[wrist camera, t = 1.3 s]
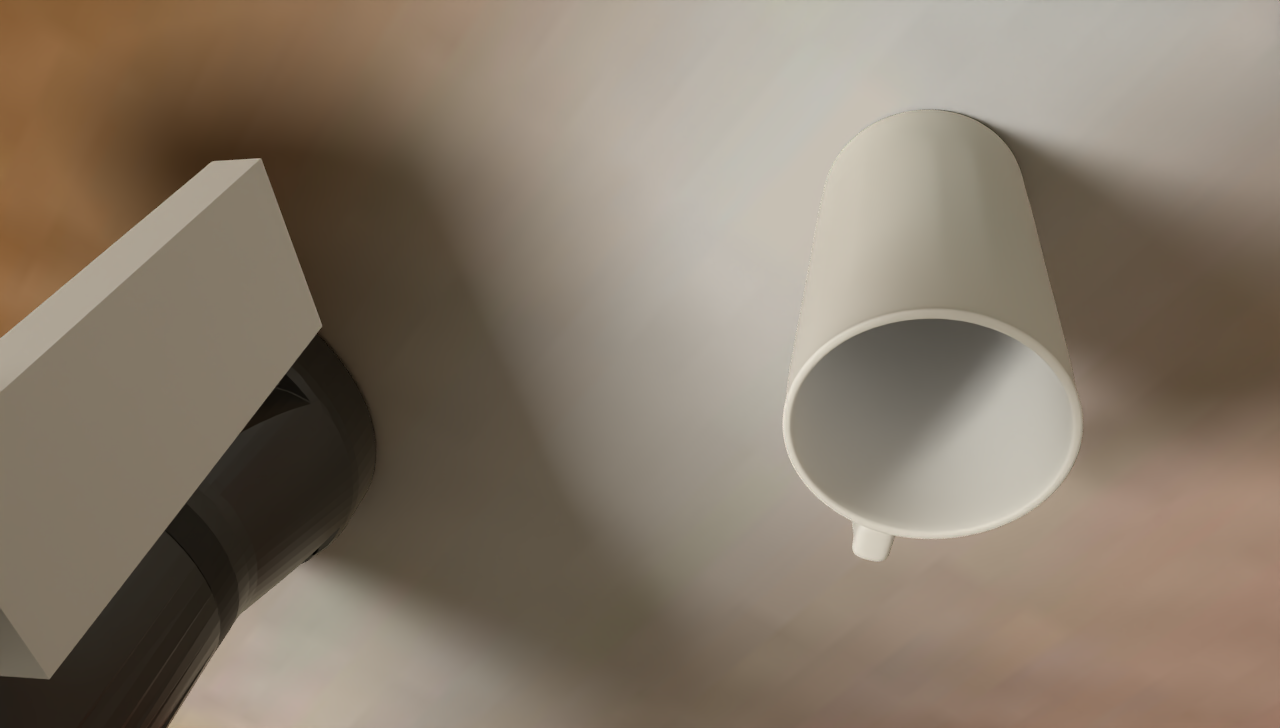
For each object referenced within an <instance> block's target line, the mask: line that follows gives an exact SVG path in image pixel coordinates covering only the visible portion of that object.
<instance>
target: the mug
mask: <svg viewBox="0 0 1280 728" xmlns="http://www.w3.org/2000/svg"><path fill="white" fill-rule="evenodd" d="M1082 435H1083V412H1082V406H1081V401H1080V398H1079V395H1078V392H1077V389H1076V386H1075V380H1074V374H1073V369H1072V365H1071V361H1070V357H1069V353H1068V349H1067V345H1066V341H1065V338H1064V334H1063V330H1062V326H1061V322H1060V319H1059V315H1058V311H1057V307H1056V303H1055V299H1054V296H1053V292H1052V288H1051V284H1050V280H1049V276H1048V273H1047V269H1046V265H1045V261H1044V257H1043V253H1042V249H1041V245H1040V241H1039V237H1038V233H1037V229H1036V225H1035V221H1034V217H1033V213H1032V210H1031V206H1030V203H1029V200H1028V196H1027V192H1026V188H1025V185H1024V181H1023V177H1022V173H1021V170H1020V168H1019V165H1018V163H1017V161H1016V159H1015V157H1014V155H1013V153H1012V152H1011V150H1010V149H1009V147H1008V146H1007V145H1006V144H1005V142H1004V141H1003V140H1002V139H1001V138H1000V137H999V136H998V135H997V134H995V133H994V132H993V131H992V130H991V129H989V128H988V127H986V126H985V125H983V124H981V123H980V122H978V121H976V120H974V119H972V118H969V117H967V116H964V115H961V114H957V113H953V112H949V111H942V110H915V111H908V112H903V113H899V114H896V115H892V116H889V117H887V118H884V119H882V120H880V121H878V122H876V123H874V124H872V125H870V126H869V127H867V128H866V129H864V130H863V131H861V132H860V133H859V134H858V135H856V136H855V137H854V138H853V139H852V140H851V141H850V142H849V143H848V144H847V145H846V146H845V147H844V148H843V150H842V151H841V152H840V154H839V155H838V156H837V158H836V160H835V161H834V163H833V165H832V167H831V169H830V171H829V174H828V176H827V179H826V183H825V186H824V191H823V195H822V199H821V204H820V208H819V213H818V218H817V223H816V228H815V234H814V240H813V245H812V251H811V257H810V262H809V268H808V273H807V278H806V284H805V289H804V294H803V300H802V305H801V310H800V316H799V321H798V326H797V331H796V337H795V342H794V347H793V353H792V358H791V364H790V370H789V377H788V384H787V393H786V400H785V404H784V410H783V436H784V442H785V446H786V450H787V453H788V456H789V458H790V461H791V463H792V465H793V467H794V469H795V471H796V472H797V474H798V475H799V477H800V478H801V480H802V481H803V482H804V484H805V485H806V486H807V487H808V488H809V490H810V491H811V492H812V493H813V494H814V495H815V496H816V497H817V498H818V499H820V500H821V501H822V502H823V503H824V504H826V505H827V506H828V507H830V508H831V509H832V510H834V511H835V512H837V513H838V514H840V515H842V516H843V517H845V518H847V519H849V520H851V521H852V528H853V536H854V538H853V544H852V549H853V552H854V554H855V555H857V556H858V557H860V558H863V559H866V560H870V561H876V562H879V561H884V560H885V559H886V558H887V557H888V555H889V553H890V549H891V546H892V544H893V541H894V538H895V536H899V537H906V538H916V539H947V538H957V537H964V536H969V535H974V534H978V533H982V532H986V531H989V530H992V529H995V528H998V527H1001V526H1003V525H1005V524H1008V523H1010V522H1012V521H1014V520H1016V519H1018V518H1020V517H1022V516H1024V515H1025V514H1027V513H1029V512H1030V511H1032V510H1033V509H1035V508H1036V507H1037V506H1039V505H1040V504H1041V503H1043V502H1044V501H1045V500H1046V499H1047V498H1048V497H1049V496H1051V495H1052V494H1053V493H1054V492H1055V490H1056V489H1057V488H1058V487H1059V486H1060V485H1061V483H1062V482H1063V481H1064V480H1065V478H1066V477H1067V475H1068V474H1069V472H1070V470H1071V468H1072V467H1073V465H1074V463H1075V460H1076V458H1077V455H1078V453H1079V450H1080V446H1081V441H1082Z"/></svg>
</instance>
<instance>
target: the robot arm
mask: <svg viewBox="0 0 1280 728" xmlns="http://www.w3.org/2000/svg"><path fill="white" fill-rule="evenodd" d="M321 327H322V323H321V321H320V318H319V315H318V312H317V310H316V307H315V304H314V301H313V299H312V296H311V293H310V291H309V288H308V285H307V282H306V280H305V277H304V274H303V271H302V269H301V266H300V263H299V260H298V258H297V255H296V252H295V249H294V247H293V244H292V241H291V239H290V236H289V233H288V230H287V228H286V225H285V222H284V219H283V217H282V214H281V211H280V208H279V206H278V203H277V200H276V197H275V195H274V192H273V189H272V186H271V184H270V181H269V178H268V176H267V173H266V170H265V167H264V165H263V162H262V159H261V158H256V159H240V160H224V161H212V162H211V163H209V164H208V165H207V166H206V167H205V168H204V169H202V170H201V171H200V172H199V173H198V174H196V175H195V176H194V177H193V178H192V179H190V180H189V181H188V182H187V183H186V184H184V185H183V186H182V187H181V188H180V189H178V190H177V191H176V192H175V193H174V194H172V195H171V196H170V197H169V198H168V199H166V200H165V201H164V202H163V203H162V204H160V205H159V206H158V207H157V208H156V209H155V210H153V211H152V212H151V213H150V214H149V215H147V216H146V217H145V218H144V219H143V220H141V221H140V222H139V223H138V224H137V225H135V226H134V227H133V228H132V229H131V230H129V231H128V232H127V233H126V234H125V235H123V236H122V237H121V238H120V239H119V240H117V241H116V242H115V243H114V244H113V245H111V246H110V247H109V248H108V249H107V250H105V251H104V252H103V253H102V254H101V255H100V256H98V257H97V258H96V259H95V260H94V261H92V262H91V263H90V264H89V265H88V266H86V267H85V268H84V269H83V270H82V271H80V272H79V273H78V274H77V275H76V276H74V277H73V278H72V279H71V280H70V281H68V282H67V283H66V284H65V285H64V286H62V287H61V288H60V289H59V290H58V291H56V292H55V293H54V294H53V295H52V296H51V297H49V298H48V299H47V300H46V301H45V302H43V303H42V304H41V305H40V306H39V307H37V308H36V309H35V310H34V311H33V312H31V313H30V314H29V315H28V316H27V317H25V318H24V319H23V320H22V321H21V322H19V323H18V324H17V325H16V326H15V327H13V328H12V329H11V330H10V331H9V332H7V333H6V334H5V335H4V336H3V337H1V338H0V728H168V726H169V724H170V723H171V721H172V720H173V718H174V716H175V715H176V713H177V712H178V710H179V708H180V707H181V705H182V704H183V702H184V701H185V699H186V697H187V696H188V694H189V693H190V691H191V689H192V688H193V686H194V685H195V683H196V681H197V680H198V678H199V677H200V675H201V673H202V672H203V670H204V669H205V667H206V666H207V664H208V662H209V661H210V659H211V658H212V656H213V654H214V653H215V651H216V650H217V648H218V647H219V645H220V644H221V642H222V641H223V639H224V638H225V636H226V635H227V633H228V631H229V630H230V628H231V626H232V625H233V623H234V622H235V620H236V619H237V617H238V616H239V615H240V614H241V613H242V612H243V611H245V610H246V609H247V608H248V607H250V606H251V605H252V604H253V603H254V602H256V601H257V600H258V599H259V598H261V597H262V596H263V595H264V594H265V593H267V592H268V591H269V590H270V589H272V588H273V587H274V586H275V585H276V584H278V583H279V582H280V581H281V580H283V579H284V578H285V577H286V576H287V575H288V574H290V573H291V572H292V571H293V570H294V569H295V568H297V567H298V566H299V565H300V564H302V563H304V562H306V561H308V560H310V559H311V558H313V557H314V556H315V555H317V554H318V553H320V552H321V551H323V550H324V549H325V548H326V547H328V546H329V545H330V544H331V543H332V542H333V541H334V540H335V539H336V538H337V537H338V535H339V534H340V533H341V532H342V531H343V530H344V528H345V527H346V525H347V524H348V522H349V520H350V519H351V517H352V515H353V514H354V512H355V510H356V509H357V507H358V505H359V504H360V502H361V500H362V499H363V497H364V495H365V494H366V492H367V490H368V488H369V485H370V483H371V480H372V477H373V473H374V468H375V461H376V445H375V436H374V430H373V426H372V422H371V418H370V415H369V412H368V409H367V407H366V405H365V402H364V400H363V398H362V396H361V394H360V392H359V390H358V388H357V386H356V384H355V382H354V381H353V379H352V377H351V376H350V374H349V373H348V371H347V370H346V368H345V367H344V365H343V364H342V363H341V362H340V360H339V359H338V358H337V356H336V355H335V354H334V353H333V352H332V350H331V349H330V348H329V347H328V346H327V345H326V344H325V343H324V341H323V340H322V339H321V338H320V337H319V336H318V335H317V333H318V331H319V330H320V329H321Z"/></svg>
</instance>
